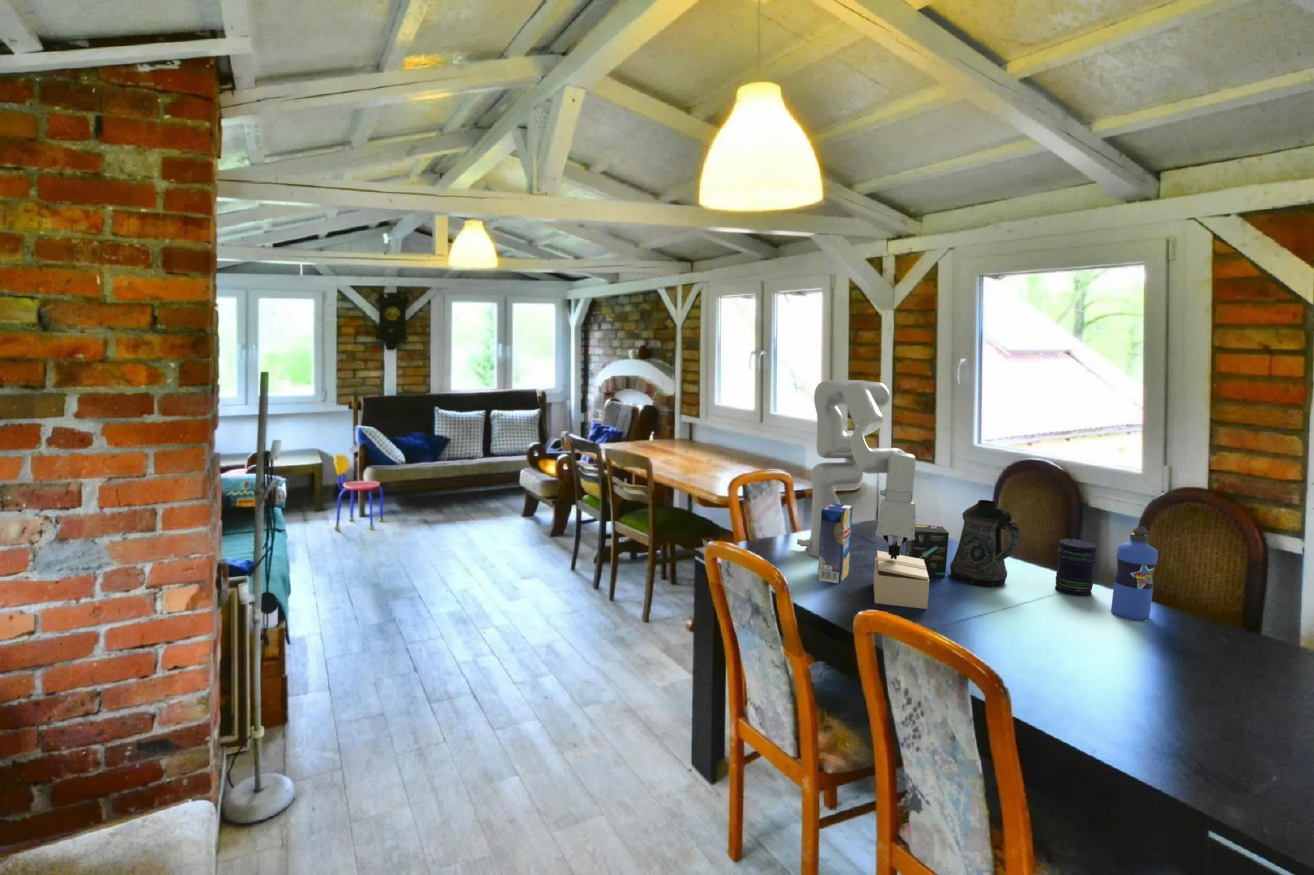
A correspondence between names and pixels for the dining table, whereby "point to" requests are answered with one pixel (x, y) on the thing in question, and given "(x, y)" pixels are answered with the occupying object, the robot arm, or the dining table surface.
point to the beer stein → (984, 546)
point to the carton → (900, 589)
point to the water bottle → (1134, 577)
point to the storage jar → (1075, 567)
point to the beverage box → (835, 542)
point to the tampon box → (930, 548)
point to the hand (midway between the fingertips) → (893, 557)
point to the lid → (902, 565)
